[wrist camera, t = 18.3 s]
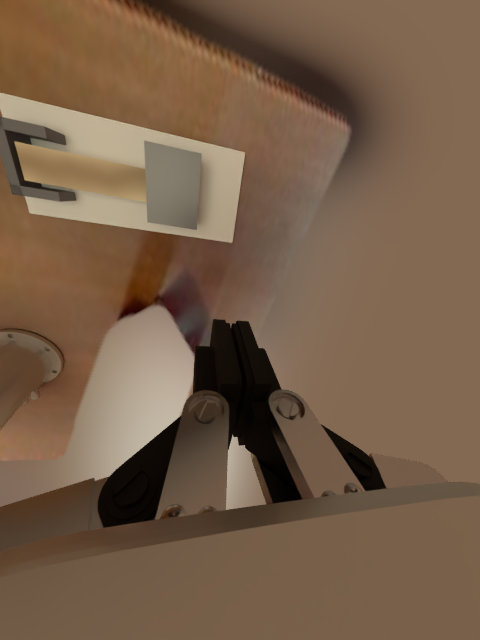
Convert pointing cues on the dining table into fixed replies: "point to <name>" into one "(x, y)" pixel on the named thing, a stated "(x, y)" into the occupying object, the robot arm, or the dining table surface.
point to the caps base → (120, 147)
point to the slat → (81, 172)
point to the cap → (172, 185)
